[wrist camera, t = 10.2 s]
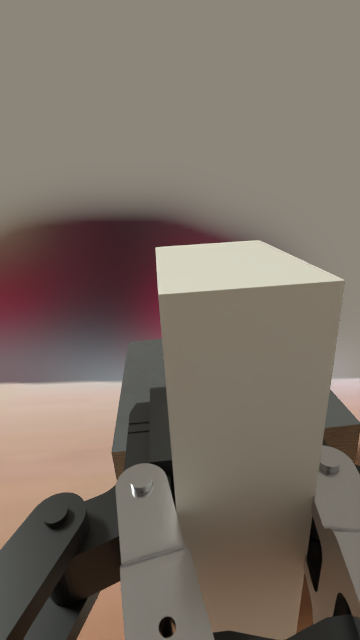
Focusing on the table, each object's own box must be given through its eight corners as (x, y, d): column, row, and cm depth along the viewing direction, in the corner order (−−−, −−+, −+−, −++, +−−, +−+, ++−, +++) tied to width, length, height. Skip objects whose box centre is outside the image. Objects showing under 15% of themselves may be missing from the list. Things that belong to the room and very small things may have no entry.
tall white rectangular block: (286, 704, 10) (345, 280, 5) (193, 717, 10) (158, 294, 5) (247, 557, 15) (259, 240, 9) (181, 565, 14) (155, 247, 9)
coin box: (338, 562, 23) (361, 423, 18) (137, 589, 22) (111, 452, 18) (270, 427, 36) (274, 327, 31) (142, 442, 35) (128, 341, 31)
